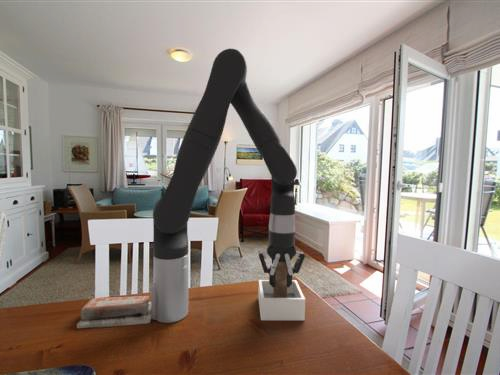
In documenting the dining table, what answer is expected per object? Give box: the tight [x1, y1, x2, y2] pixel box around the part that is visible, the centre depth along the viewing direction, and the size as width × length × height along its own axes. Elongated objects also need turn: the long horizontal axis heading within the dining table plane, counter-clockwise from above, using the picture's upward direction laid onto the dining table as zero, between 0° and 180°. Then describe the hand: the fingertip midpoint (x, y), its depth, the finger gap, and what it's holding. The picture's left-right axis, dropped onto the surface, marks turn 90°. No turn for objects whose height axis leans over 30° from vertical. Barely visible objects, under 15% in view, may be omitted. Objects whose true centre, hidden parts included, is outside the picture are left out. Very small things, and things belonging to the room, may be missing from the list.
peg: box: [273, 262, 288, 298], centre depth 77 cm, size 4×4×11 cm
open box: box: [257, 279, 306, 321], centre depth 77 cm, size 12×12×6 cm
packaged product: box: [76, 295, 152, 329], centre depth 72 cm, size 18×5×10 cm
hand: (280, 285), depth 77 cm, fingers closed on peg, 4 cm apart
